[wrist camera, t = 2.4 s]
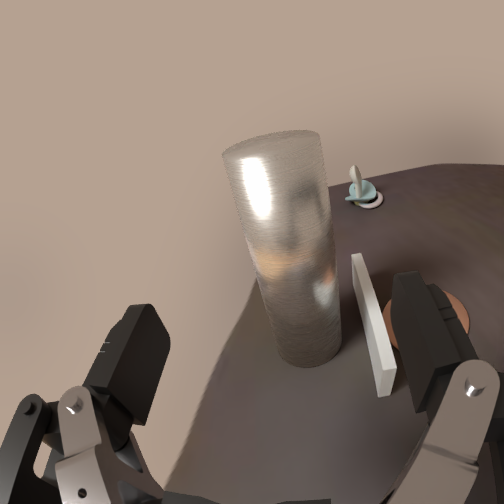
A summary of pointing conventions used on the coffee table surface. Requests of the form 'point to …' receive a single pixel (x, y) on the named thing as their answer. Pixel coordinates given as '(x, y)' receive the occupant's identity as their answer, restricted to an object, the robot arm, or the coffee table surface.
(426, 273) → the coffee table surface
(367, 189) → the pacifier
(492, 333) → the coffee table surface
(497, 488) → the robot arm
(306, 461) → the coffee table surface
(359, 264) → the acrylic wall
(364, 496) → the coffee table surface
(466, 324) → the terracotta coaster
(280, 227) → the metal tin
